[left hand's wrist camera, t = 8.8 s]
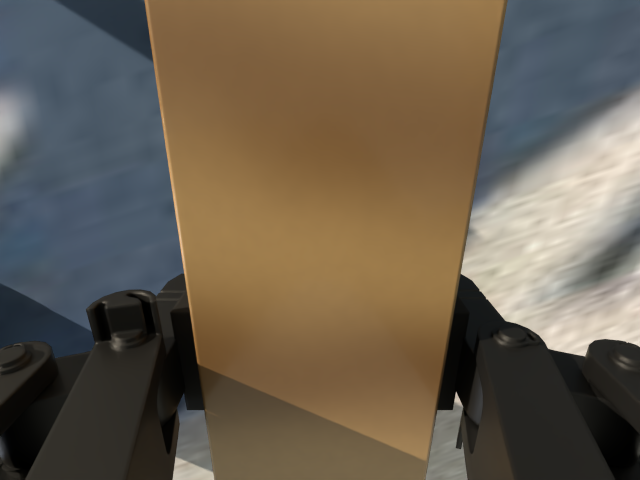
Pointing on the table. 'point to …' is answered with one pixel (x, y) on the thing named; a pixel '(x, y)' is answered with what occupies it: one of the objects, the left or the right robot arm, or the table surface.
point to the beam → (323, 218)
